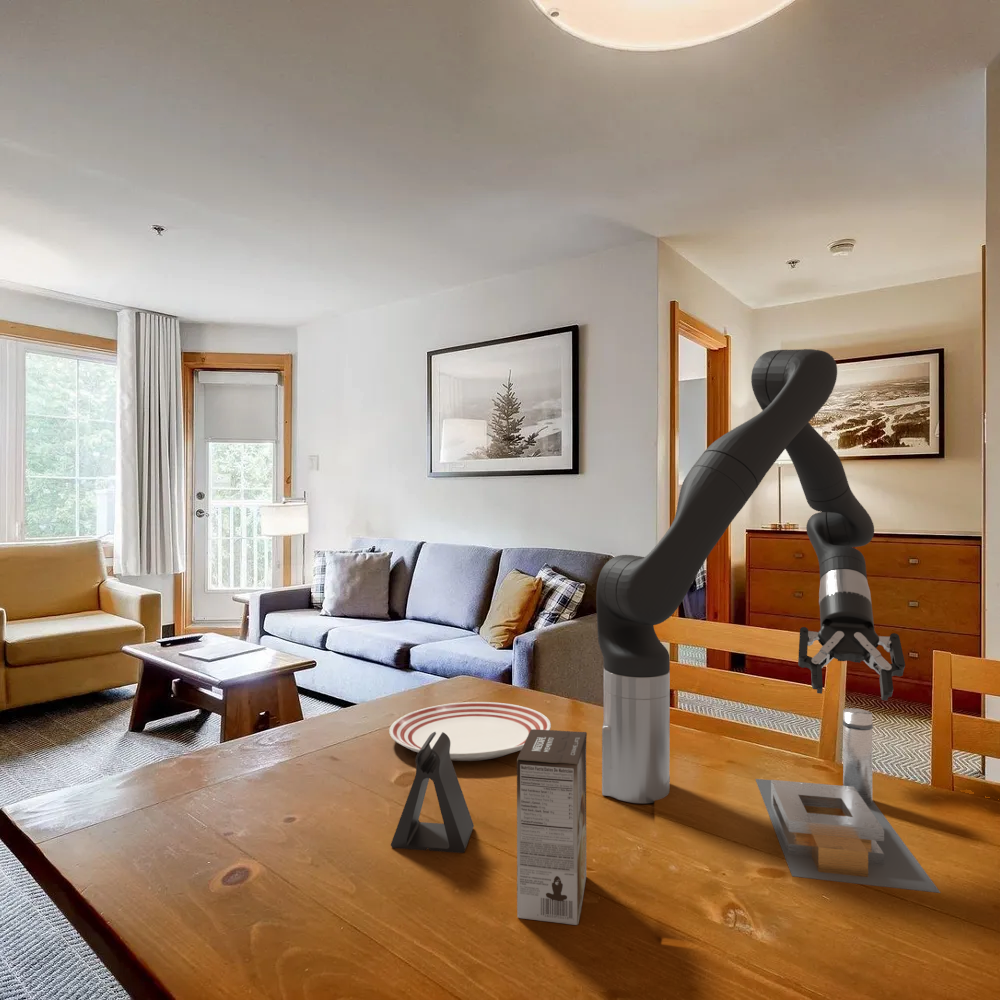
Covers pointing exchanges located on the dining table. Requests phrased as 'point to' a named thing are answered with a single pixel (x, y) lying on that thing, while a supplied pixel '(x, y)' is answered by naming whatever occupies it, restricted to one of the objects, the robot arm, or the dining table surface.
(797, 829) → the clevis
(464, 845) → the dark triangular stand
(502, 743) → the dinner plate
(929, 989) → the dining table surface
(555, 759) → the coffee box
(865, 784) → the pin
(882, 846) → the mat
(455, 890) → the dining table surface
